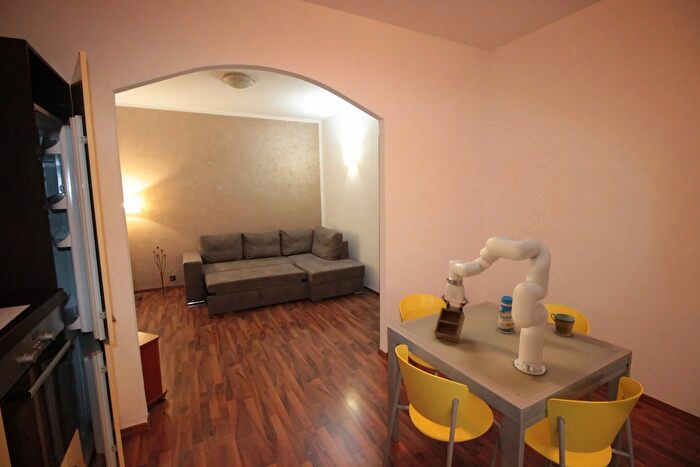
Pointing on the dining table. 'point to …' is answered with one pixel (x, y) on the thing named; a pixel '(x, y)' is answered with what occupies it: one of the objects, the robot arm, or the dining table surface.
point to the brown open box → (449, 324)
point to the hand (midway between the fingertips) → (454, 311)
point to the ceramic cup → (563, 323)
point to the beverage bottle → (506, 315)
